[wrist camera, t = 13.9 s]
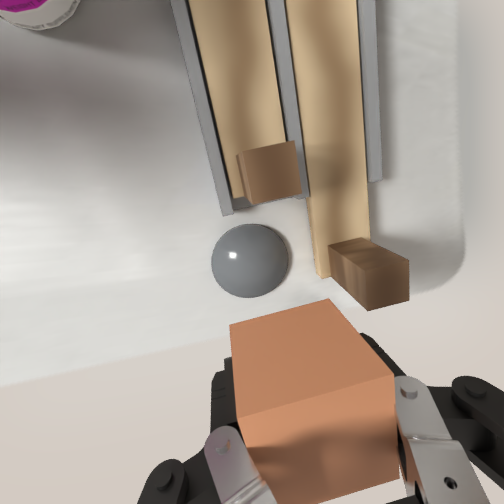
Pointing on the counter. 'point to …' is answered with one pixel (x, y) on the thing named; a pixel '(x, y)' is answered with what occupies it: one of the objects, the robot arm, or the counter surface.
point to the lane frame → (283, 94)
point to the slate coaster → (249, 261)
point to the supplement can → (37, 12)
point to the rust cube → (313, 404)
